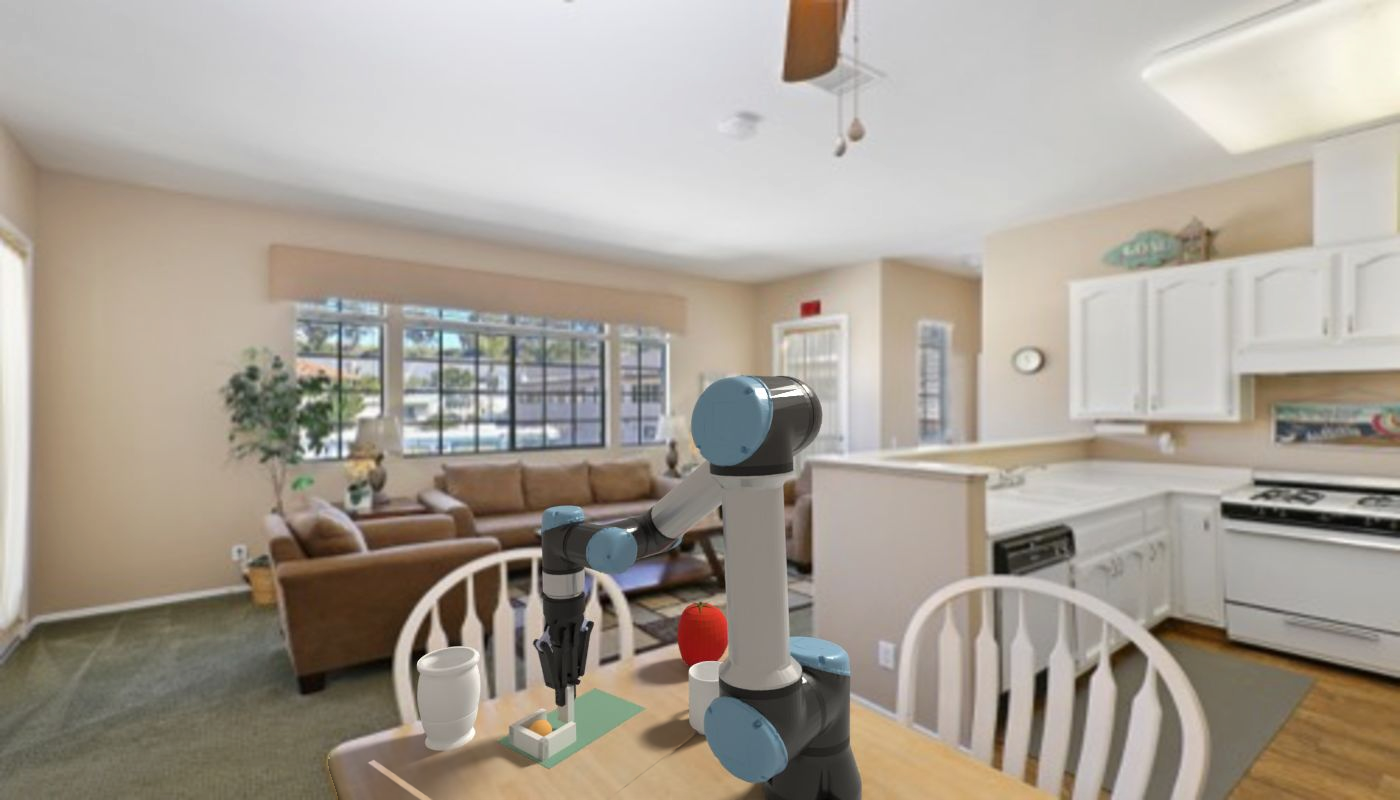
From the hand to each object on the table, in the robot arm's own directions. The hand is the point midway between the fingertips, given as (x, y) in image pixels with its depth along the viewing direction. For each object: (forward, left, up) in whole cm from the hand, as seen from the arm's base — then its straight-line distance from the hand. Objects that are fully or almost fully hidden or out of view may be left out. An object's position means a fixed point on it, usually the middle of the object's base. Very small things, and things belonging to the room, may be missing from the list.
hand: (566, 720), depth 117 cm
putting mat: (0, -2, -2) cm, 3 cm away
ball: (0, +6, 0) cm, 6 cm away
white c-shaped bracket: (0, +5, -2) cm, 6 cm away
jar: (+15, +14, -3) cm, 21 cm away
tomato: (-4, -37, -3) cm, 37 cm away
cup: (-19, -19, -3) cm, 27 cm away
